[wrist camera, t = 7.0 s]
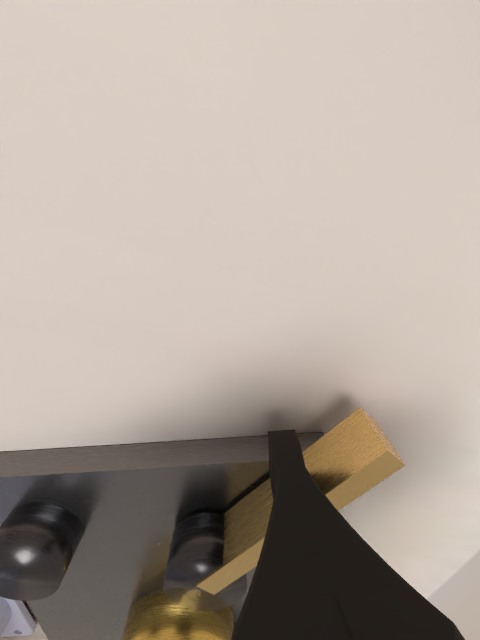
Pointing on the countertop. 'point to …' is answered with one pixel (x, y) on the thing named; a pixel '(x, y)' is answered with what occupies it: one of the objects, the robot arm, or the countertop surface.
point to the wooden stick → (254, 513)
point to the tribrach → (118, 532)
